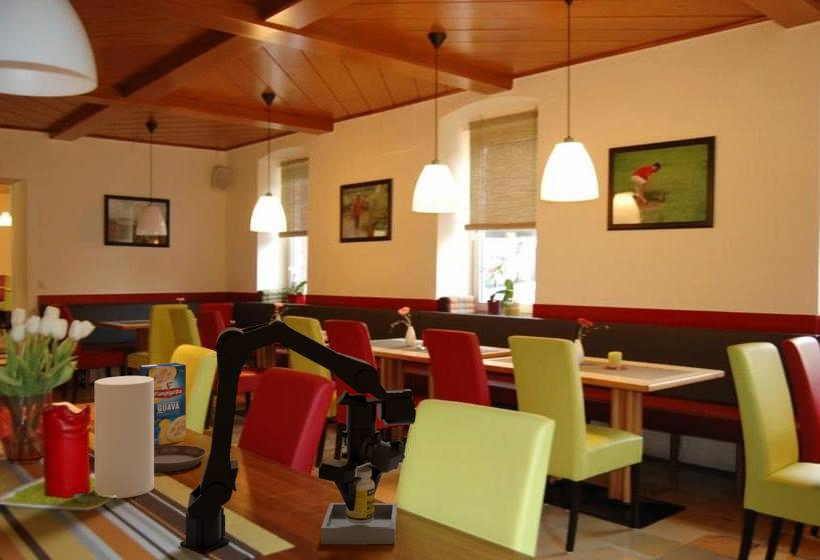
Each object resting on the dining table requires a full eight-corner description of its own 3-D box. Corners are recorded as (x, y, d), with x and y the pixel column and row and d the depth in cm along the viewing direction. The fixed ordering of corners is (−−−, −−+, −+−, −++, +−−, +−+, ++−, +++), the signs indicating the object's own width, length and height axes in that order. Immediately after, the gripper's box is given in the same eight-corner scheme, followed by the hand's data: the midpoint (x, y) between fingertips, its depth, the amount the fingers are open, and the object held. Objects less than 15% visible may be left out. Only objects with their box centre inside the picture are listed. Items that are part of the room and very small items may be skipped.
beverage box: (139, 442, 202) (139, 365, 202) (175, 436, 210) (175, 362, 209) (149, 446, 197) (149, 368, 197) (186, 440, 205) (186, 365, 204)
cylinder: (147, 497, 155) (147, 384, 154) (87, 499, 153) (87, 385, 153) (159, 480, 167) (158, 375, 167) (103, 482, 166) (103, 376, 165)
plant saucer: (203, 453, 193) (203, 441, 192) (209, 470, 176) (209, 458, 176) (133, 459, 186) (133, 447, 186) (133, 478, 170) (133, 465, 170)
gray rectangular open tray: (394, 544, 130) (394, 528, 130) (321, 543, 130) (321, 527, 130) (396, 518, 143) (396, 503, 143) (330, 517, 144) (330, 502, 144)
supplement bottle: (370, 525, 133) (370, 474, 133) (342, 523, 135) (343, 472, 134) (377, 515, 139) (377, 466, 139) (350, 513, 140) (351, 464, 140)
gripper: (364, 442, 124) (363, 530, 124) (422, 423, 139) (421, 501, 140) (316, 433, 130) (315, 516, 131) (377, 416, 146) (376, 491, 146)
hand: (360, 506), depth 137 cm, fingers closed on supplement bottle, 5 cm apart
